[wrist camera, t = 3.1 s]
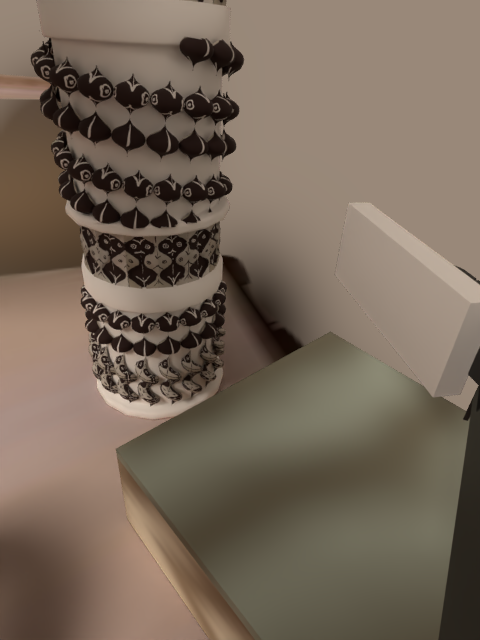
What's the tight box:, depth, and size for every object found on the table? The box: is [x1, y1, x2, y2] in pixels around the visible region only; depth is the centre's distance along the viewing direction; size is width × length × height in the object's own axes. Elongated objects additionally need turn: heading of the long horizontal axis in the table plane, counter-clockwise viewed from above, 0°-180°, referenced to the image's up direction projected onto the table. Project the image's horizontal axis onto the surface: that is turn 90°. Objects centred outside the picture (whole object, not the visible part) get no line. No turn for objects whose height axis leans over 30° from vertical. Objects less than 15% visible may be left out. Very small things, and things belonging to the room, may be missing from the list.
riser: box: [116, 332, 470, 640], centre depth 19 cm, size 13×14×5 cm
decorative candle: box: [31, 0, 244, 420], centre depth 23 cm, size 9×9×25 cm
